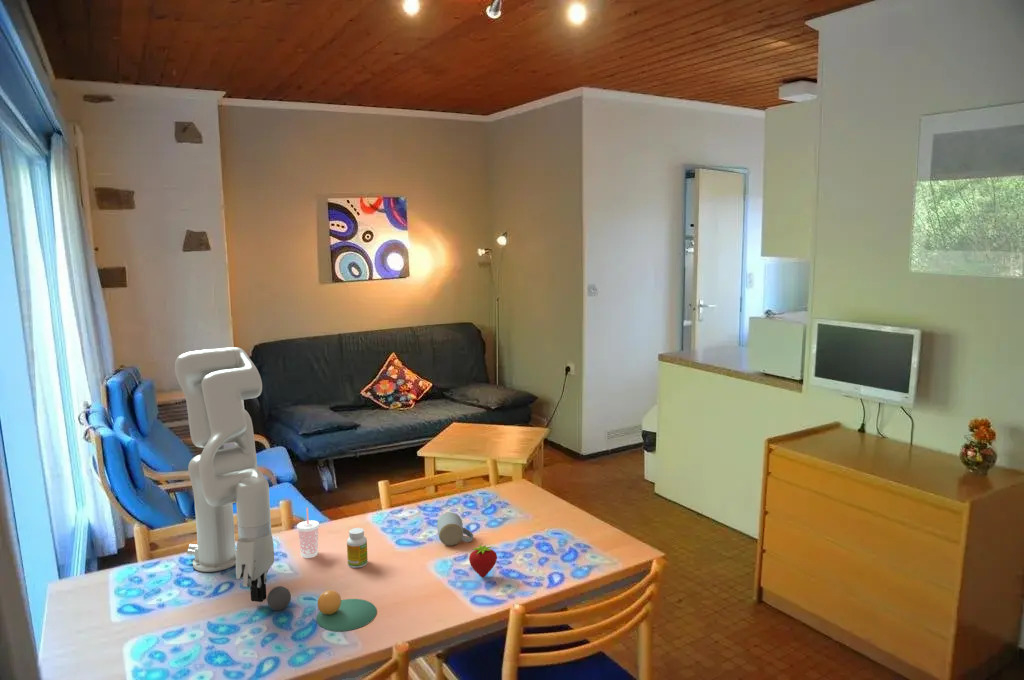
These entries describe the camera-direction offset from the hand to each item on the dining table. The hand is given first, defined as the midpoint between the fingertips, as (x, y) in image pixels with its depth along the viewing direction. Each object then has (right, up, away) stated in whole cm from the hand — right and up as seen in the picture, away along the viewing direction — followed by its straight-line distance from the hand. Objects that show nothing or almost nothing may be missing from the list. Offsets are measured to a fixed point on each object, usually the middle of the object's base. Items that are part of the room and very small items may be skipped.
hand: (258, 599), depth 167 cm
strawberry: (+55, 0, +14) cm, 56 cm away
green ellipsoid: (+23, -2, -4) cm, 23 cm away
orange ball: (+18, +1, -4) cm, 19 cm away
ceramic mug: (+45, +3, +37) cm, 58 cm away
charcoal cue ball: (+6, +1, -2) cm, 6 cm away
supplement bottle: (+19, +1, +22) cm, 29 cm away
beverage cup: (+4, +2, +28) cm, 28 cm away
